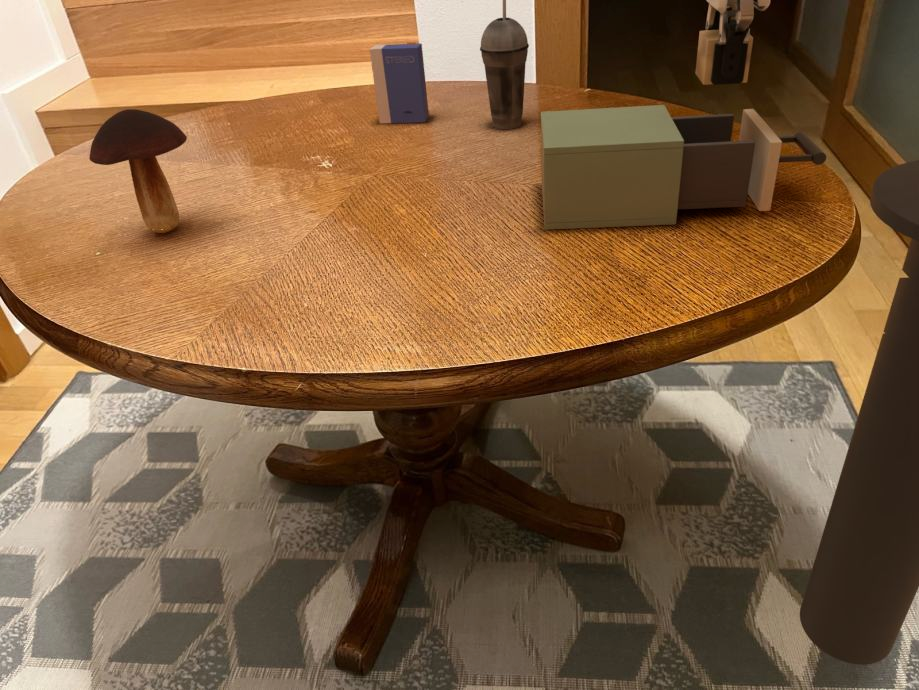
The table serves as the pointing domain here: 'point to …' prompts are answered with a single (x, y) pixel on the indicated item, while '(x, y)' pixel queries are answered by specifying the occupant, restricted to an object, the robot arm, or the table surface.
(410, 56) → the walkman
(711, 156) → the drawer
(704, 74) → the block
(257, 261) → the table surface
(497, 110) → the beverage cup
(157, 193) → the decorative mushroom
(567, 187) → the cabinet
